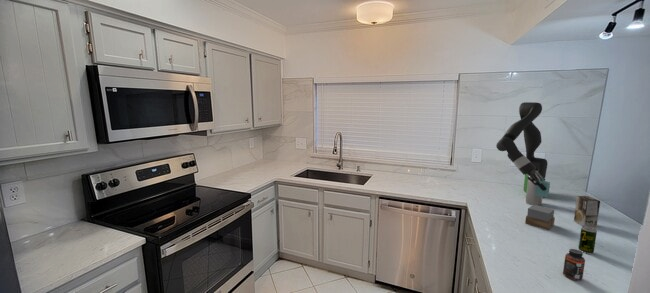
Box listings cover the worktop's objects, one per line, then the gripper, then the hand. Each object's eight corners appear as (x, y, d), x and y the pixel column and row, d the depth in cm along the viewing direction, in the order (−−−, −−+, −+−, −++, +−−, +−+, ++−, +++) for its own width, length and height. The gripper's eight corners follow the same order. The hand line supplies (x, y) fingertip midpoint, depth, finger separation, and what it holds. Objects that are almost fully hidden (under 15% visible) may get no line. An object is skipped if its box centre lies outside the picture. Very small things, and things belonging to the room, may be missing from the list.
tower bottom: (531, 219, 168) (532, 211, 167) (553, 225, 159) (554, 217, 158) (525, 224, 161) (525, 216, 160) (548, 230, 152) (549, 222, 152)
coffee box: (597, 228, 154) (601, 201, 152) (584, 227, 156) (587, 200, 153) (585, 221, 163) (589, 195, 161) (573, 220, 164) (576, 195, 162)
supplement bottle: (582, 283, 107) (586, 256, 105) (562, 277, 111) (566, 251, 109) (582, 276, 111) (585, 250, 109) (562, 270, 115) (566, 245, 113)
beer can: (577, 247, 134) (581, 224, 132) (593, 250, 130) (596, 227, 129) (578, 251, 130) (581, 228, 128) (594, 255, 126) (597, 231, 125)
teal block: (538, 193, 161) (539, 180, 160) (548, 195, 157) (550, 182, 156) (535, 194, 158) (536, 181, 157) (545, 197, 154) (547, 183, 153)
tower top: (532, 212, 166) (533, 204, 165) (553, 217, 158) (554, 209, 157) (527, 216, 160) (528, 208, 159) (548, 222, 152) (549, 213, 151)
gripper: (525, 163, 156) (549, 188, 149) (534, 160, 165) (556, 183, 157) (514, 170, 161) (536, 194, 154) (522, 167, 170) (544, 190, 162)
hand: (546, 189), depth 155 cm, fingers closed on teal block, 5 cm apart
